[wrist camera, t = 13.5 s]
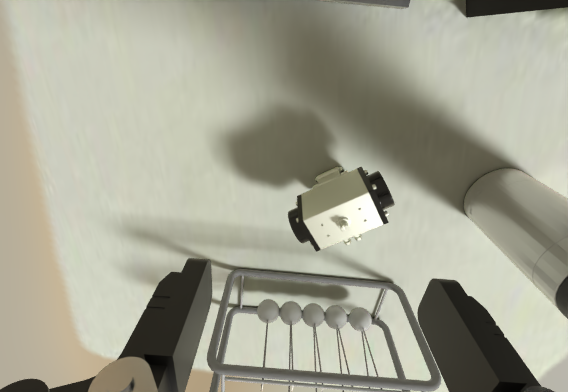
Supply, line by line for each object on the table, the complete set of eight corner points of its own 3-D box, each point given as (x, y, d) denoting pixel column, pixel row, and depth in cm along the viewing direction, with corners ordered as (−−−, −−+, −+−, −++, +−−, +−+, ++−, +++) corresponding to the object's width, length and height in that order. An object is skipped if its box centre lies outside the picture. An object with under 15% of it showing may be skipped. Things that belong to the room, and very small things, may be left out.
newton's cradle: (401, 282, 51) (449, 390, 36) (385, 321, 56) (421, 431, 41) (229, 266, 50) (202, 369, 35) (229, 308, 55) (204, 414, 40)
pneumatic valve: (287, 184, 42) (286, 233, 32) (364, 147, 40) (390, 188, 29) (304, 213, 45) (309, 267, 34) (378, 180, 42) (407, 229, 31)
